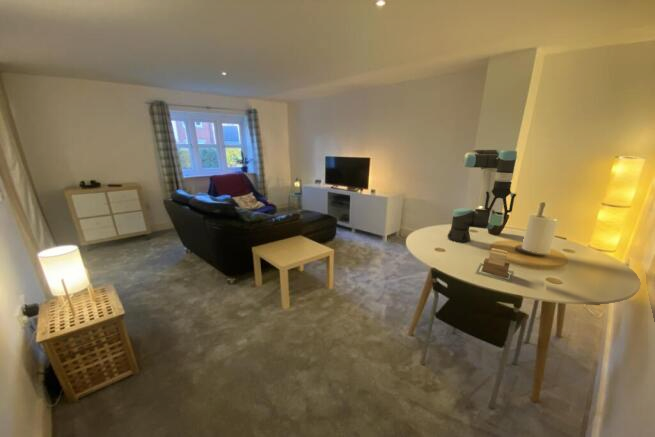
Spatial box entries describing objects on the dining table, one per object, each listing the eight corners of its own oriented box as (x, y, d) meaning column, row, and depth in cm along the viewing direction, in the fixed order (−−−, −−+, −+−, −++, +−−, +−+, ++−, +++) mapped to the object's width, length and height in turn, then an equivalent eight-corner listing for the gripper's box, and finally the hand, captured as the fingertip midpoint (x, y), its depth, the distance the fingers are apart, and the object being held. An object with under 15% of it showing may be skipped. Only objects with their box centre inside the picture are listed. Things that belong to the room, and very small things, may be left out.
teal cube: (490, 222, 144) (492, 213, 143) (501, 224, 141) (502, 215, 140) (489, 224, 140) (490, 215, 139) (500, 225, 137) (501, 216, 136)
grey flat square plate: (480, 265, 149) (480, 262, 149) (513, 273, 139) (514, 271, 139) (474, 275, 137) (475, 273, 137) (511, 285, 127) (511, 283, 127)
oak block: (490, 258, 141) (492, 248, 139) (505, 261, 137) (507, 251, 135) (488, 262, 136) (490, 252, 134) (504, 266, 131) (506, 255, 130)
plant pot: (503, 232, 205) (507, 212, 200) (507, 238, 192) (511, 217, 187) (482, 229, 211) (485, 210, 206) (484, 235, 198) (487, 215, 193)
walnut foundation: (483, 267, 143) (485, 257, 141) (507, 273, 136) (509, 263, 135) (482, 271, 139) (484, 261, 137) (506, 277, 132) (508, 267, 131)
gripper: (482, 180, 137) (475, 221, 143) (524, 182, 126) (514, 227, 132) (484, 179, 143) (478, 219, 149) (524, 181, 132) (516, 224, 138)
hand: (495, 223), depth 140 cm, fingers closed on teal cube, 5 cm apart
